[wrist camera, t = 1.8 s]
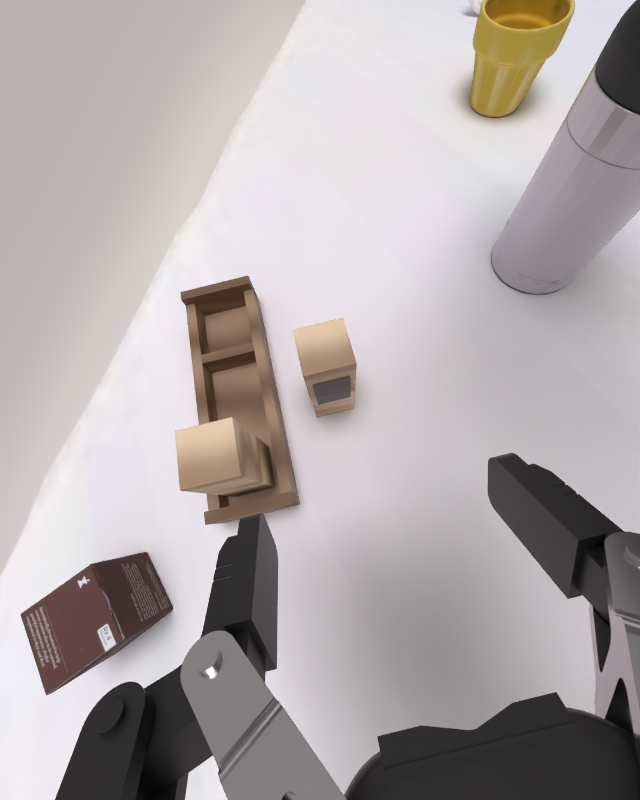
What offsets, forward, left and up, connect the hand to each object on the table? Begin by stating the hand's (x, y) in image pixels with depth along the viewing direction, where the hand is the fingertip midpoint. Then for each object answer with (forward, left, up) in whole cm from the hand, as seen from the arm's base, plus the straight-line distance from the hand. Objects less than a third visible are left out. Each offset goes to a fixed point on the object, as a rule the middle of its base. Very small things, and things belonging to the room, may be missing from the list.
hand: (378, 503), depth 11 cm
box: (+14, -18, -21) cm, 31 cm away
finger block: (-10, -6, -21) cm, 24 cm away
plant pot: (-59, +4, -21) cm, 63 cm away
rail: (-7, -15, -21) cm, 26 cm away
